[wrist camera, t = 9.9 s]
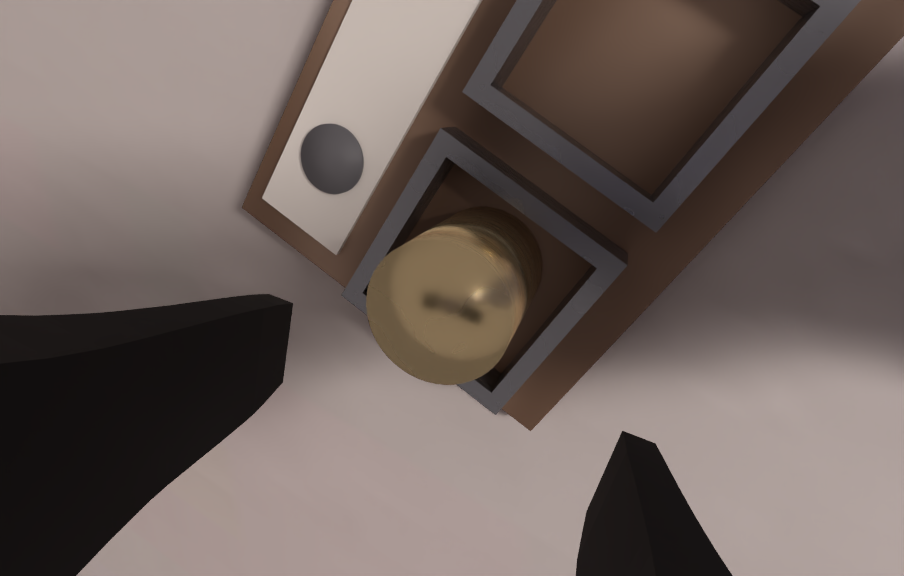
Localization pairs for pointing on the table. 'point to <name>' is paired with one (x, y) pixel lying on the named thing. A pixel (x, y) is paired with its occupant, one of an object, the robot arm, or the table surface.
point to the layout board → (555, 144)
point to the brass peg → (455, 295)
